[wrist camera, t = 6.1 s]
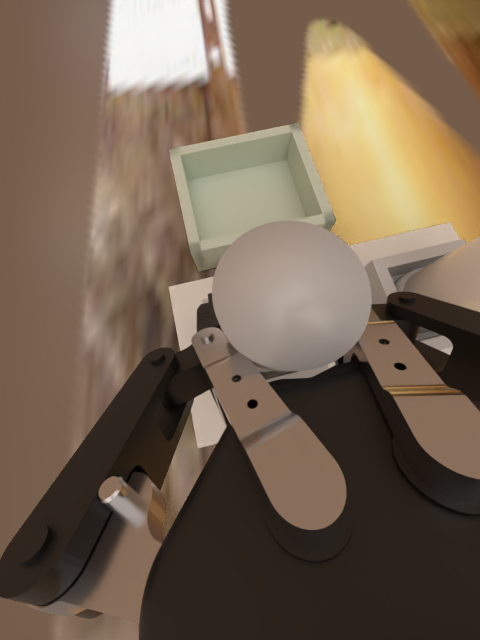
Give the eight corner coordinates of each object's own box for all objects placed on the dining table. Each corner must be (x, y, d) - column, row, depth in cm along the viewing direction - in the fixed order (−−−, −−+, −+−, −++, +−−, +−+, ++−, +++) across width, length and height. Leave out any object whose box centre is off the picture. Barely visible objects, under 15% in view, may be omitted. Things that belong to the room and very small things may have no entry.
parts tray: (290, 157, 22) (298, 122, 19) (322, 243, 20) (336, 220, 17) (179, 180, 22) (168, 149, 19) (198, 271, 19) (190, 253, 16)
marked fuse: (281, 307, 18) (340, 206, 7) (297, 364, 17) (396, 348, 6) (225, 320, 17) (198, 238, 7) (239, 378, 16) (231, 389, 6)
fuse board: (440, 229, 20) (481, 200, 17) (508, 364, 17) (572, 362, 14) (172, 291, 19) (156, 273, 16) (200, 443, 16) (189, 462, 13)
